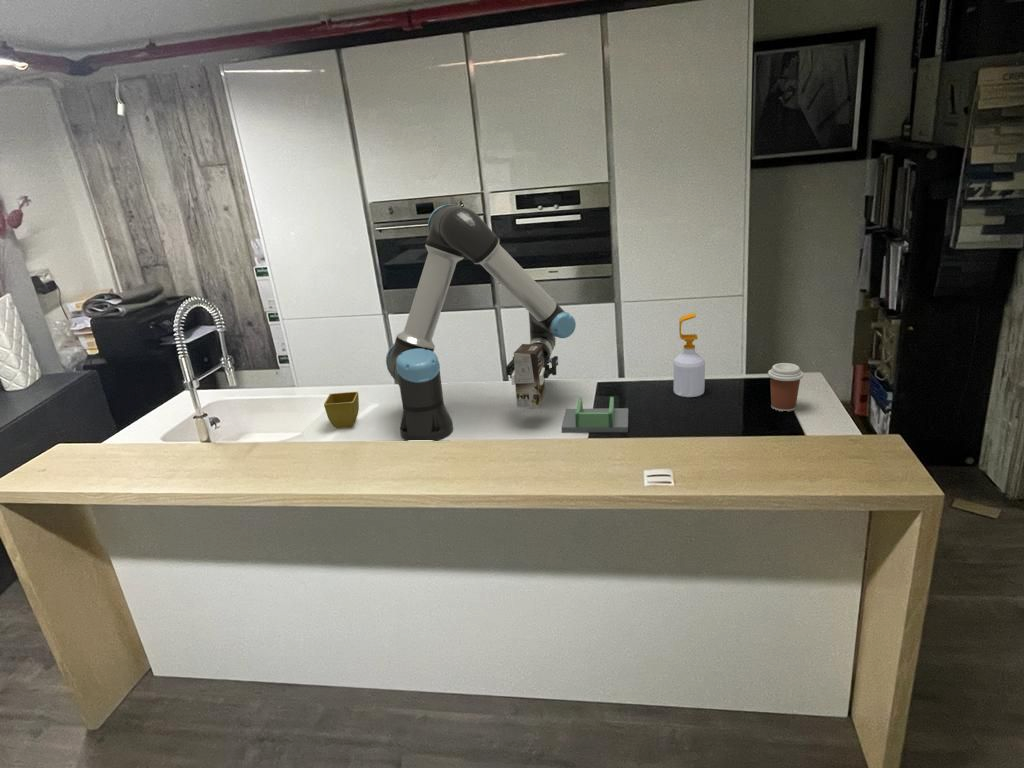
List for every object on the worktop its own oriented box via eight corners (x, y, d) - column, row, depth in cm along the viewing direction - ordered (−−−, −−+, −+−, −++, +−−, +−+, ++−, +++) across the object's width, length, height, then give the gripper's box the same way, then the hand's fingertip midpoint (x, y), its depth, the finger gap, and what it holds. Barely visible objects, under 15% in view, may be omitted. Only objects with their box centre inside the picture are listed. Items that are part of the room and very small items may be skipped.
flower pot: (363, 418, 208) (358, 390, 205) (358, 429, 200) (353, 401, 197) (334, 420, 208) (329, 393, 205) (328, 432, 200) (323, 404, 197)
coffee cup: (766, 412, 188) (769, 372, 183) (765, 400, 196) (767, 361, 191) (802, 414, 185) (805, 373, 181) (799, 401, 193) (802, 361, 189)
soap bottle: (705, 397, 201) (706, 317, 192) (673, 397, 203) (673, 318, 194) (703, 386, 209) (704, 309, 200) (673, 387, 211) (673, 310, 202)
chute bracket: (561, 432, 187) (560, 414, 185) (566, 413, 199) (565, 396, 197) (627, 432, 183) (627, 413, 181) (628, 413, 195) (628, 395, 193)
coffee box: (538, 409, 187) (535, 353, 181) (516, 407, 189) (512, 352, 183) (546, 396, 195) (543, 343, 189) (525, 395, 197) (521, 342, 191)
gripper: (571, 365, 205) (563, 392, 184) (507, 365, 209) (492, 392, 188) (570, 341, 202) (562, 366, 181) (505, 342, 206) (490, 367, 185)
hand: (526, 380), depth 185 cm, fingers closed on coffee box, 7 cm apart
